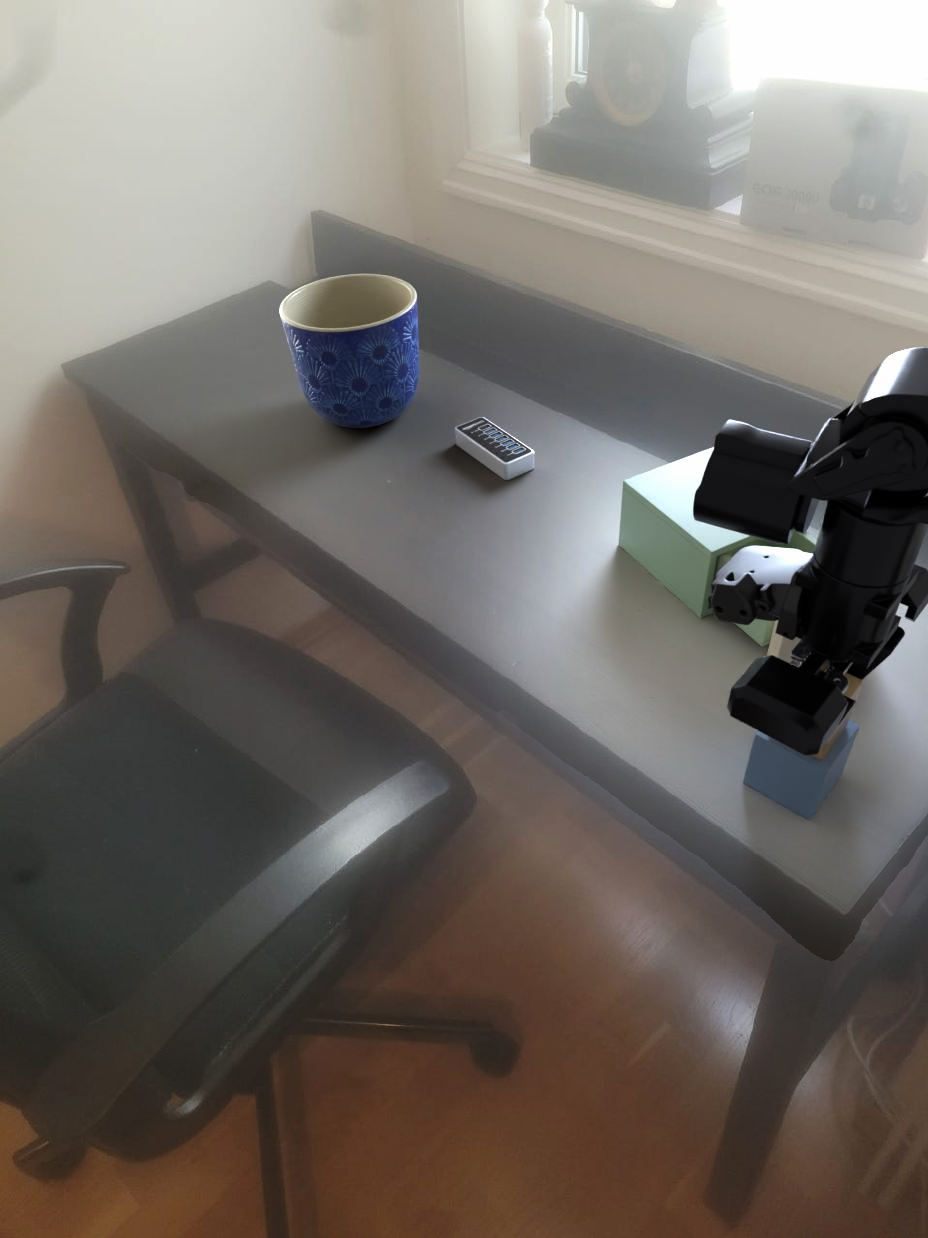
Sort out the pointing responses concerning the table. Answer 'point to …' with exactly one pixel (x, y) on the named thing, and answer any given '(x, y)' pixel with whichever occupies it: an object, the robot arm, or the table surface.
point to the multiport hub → (494, 448)
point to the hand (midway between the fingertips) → (810, 722)
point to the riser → (797, 771)
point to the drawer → (761, 628)
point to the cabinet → (674, 530)
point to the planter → (355, 346)
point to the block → (853, 694)
